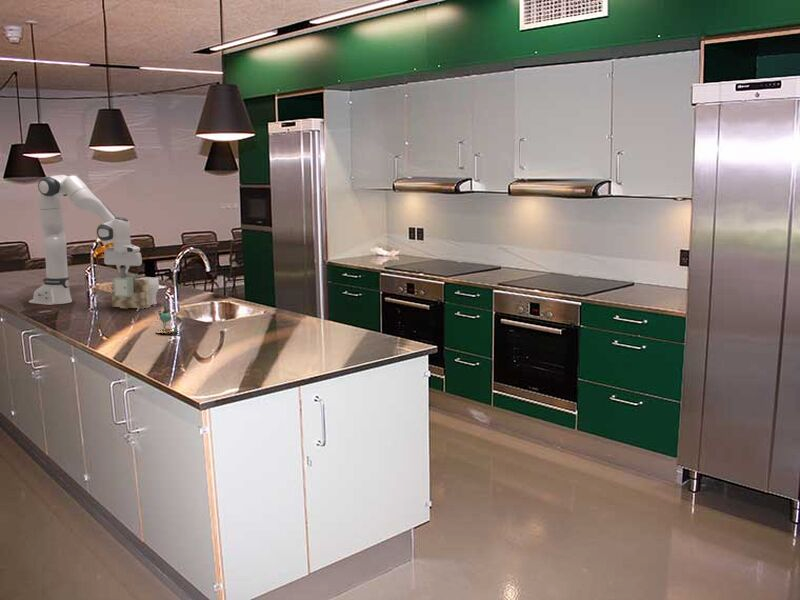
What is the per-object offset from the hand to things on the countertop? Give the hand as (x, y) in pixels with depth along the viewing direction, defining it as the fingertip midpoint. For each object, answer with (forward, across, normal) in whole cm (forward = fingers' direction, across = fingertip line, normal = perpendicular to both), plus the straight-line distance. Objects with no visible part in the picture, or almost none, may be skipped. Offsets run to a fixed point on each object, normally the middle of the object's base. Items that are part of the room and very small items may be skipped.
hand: (123, 273), depth 408 cm
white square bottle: (+12, 0, 0) cm, 12 cm away
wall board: (+20, 0, +7) cm, 21 cm away
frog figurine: (+20, +46, -49) cm, 71 cm away
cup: (+20, +6, +17) cm, 27 cm away
